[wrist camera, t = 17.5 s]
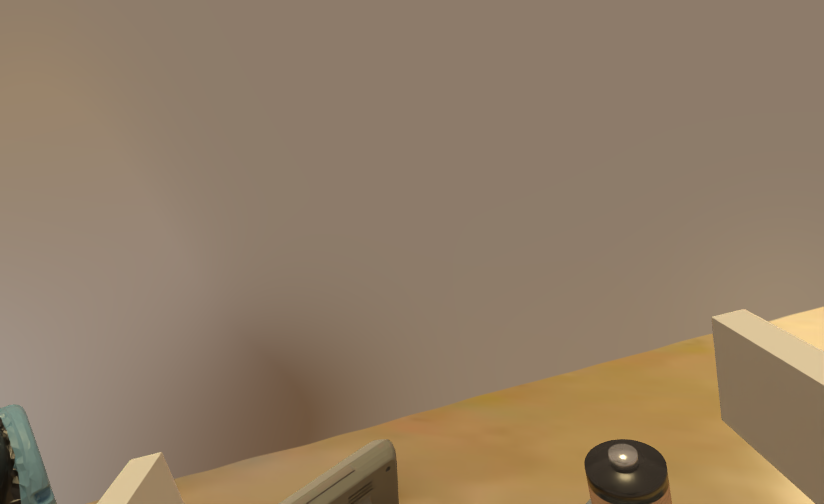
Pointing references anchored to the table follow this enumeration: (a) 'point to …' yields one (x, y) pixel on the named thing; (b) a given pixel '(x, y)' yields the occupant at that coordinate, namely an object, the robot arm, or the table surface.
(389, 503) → the digital clock
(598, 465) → the cell
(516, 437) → the table surface
